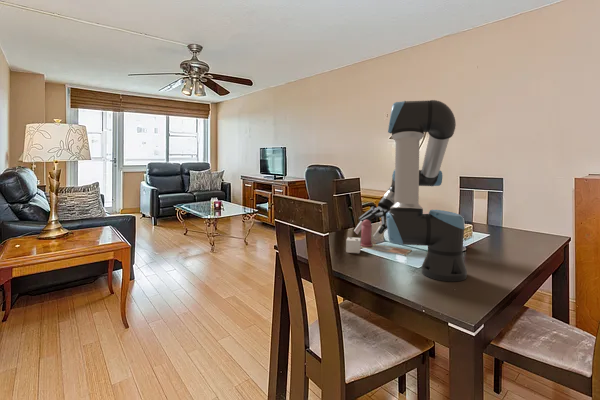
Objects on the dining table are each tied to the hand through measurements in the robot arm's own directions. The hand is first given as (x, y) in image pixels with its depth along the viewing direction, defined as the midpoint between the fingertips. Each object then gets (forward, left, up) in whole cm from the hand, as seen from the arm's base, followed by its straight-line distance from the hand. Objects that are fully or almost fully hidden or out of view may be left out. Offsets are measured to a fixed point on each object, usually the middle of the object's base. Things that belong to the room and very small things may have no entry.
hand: (364, 235), depth 158 cm
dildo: (+1, -1, -5) cm, 5 cm away
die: (-11, 0, -6) cm, 13 cm away
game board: (+1, -9, -6) cm, 10 cm away
